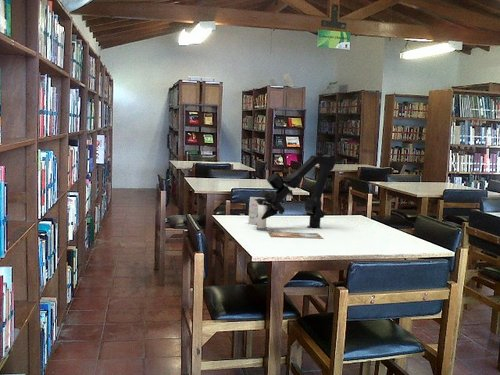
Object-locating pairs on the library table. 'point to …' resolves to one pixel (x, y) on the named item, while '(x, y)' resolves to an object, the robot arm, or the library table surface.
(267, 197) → the robot arm
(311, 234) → the grey coaster
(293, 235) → the walnut board
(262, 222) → the frosted light bulb
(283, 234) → the terracotta coaster
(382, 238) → the library table surface
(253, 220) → the ink cartridge box
